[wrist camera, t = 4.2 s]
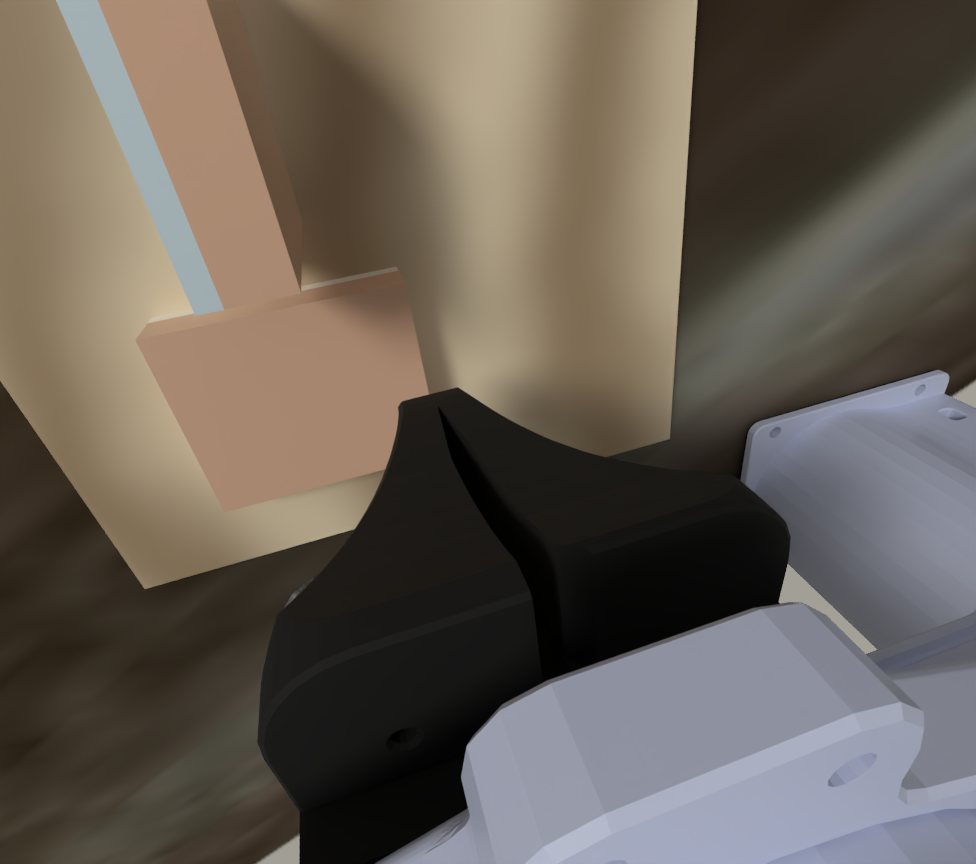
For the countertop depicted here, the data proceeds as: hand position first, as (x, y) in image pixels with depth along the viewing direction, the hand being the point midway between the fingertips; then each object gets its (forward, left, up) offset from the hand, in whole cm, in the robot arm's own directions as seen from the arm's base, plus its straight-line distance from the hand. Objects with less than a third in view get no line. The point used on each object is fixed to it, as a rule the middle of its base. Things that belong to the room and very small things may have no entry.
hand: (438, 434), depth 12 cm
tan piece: (+2, -6, -4) cm, 8 cm away
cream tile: (0, 0, -4) cm, 4 cm away
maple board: (0, -2, -5) cm, 6 cm away
